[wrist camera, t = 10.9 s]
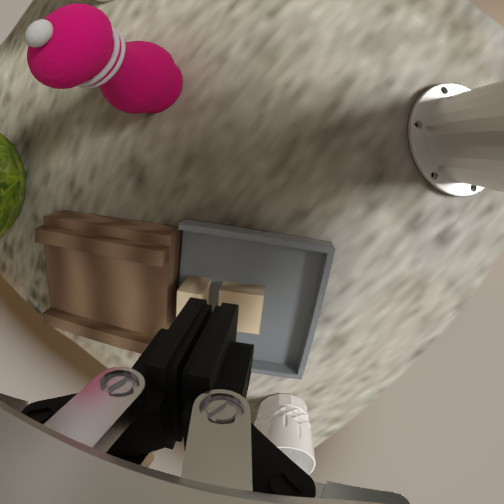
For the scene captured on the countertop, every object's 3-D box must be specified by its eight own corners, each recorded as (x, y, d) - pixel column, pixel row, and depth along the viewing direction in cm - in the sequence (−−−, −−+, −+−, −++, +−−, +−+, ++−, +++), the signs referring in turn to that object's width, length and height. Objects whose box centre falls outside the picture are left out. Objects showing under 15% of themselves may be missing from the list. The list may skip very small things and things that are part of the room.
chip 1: (189, 274, 35) (211, 278, 35) (187, 311, 36) (208, 314, 36) (176, 290, 30) (202, 295, 30) (176, 330, 32) (199, 334, 32)
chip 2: (219, 290, 32) (223, 280, 35) (216, 328, 33) (220, 317, 36) (263, 295, 32) (265, 286, 34) (258, 334, 33) (260, 322, 36)
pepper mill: (158, 130, 31) (24, 113, 12) (114, 95, 30) (-23, 63, 11) (201, 77, 29) (106, -7, 10) (153, 44, 28) (41, -35, 9)
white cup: (263, 383, 39) (257, 441, 29) (320, 396, 39) (326, 453, 29) (247, 421, 41) (238, 475, 32) (299, 432, 41) (300, 486, 32)
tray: (331, 241, 33) (335, 248, 31) (300, 366, 38) (301, 379, 35) (185, 218, 34) (178, 223, 31) (177, 345, 38) (171, 356, 36)
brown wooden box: (182, 227, 34) (163, 241, 28) (175, 338, 38) (160, 365, 32) (63, 210, 35) (34, 219, 29) (69, 310, 39) (45, 330, 33)
